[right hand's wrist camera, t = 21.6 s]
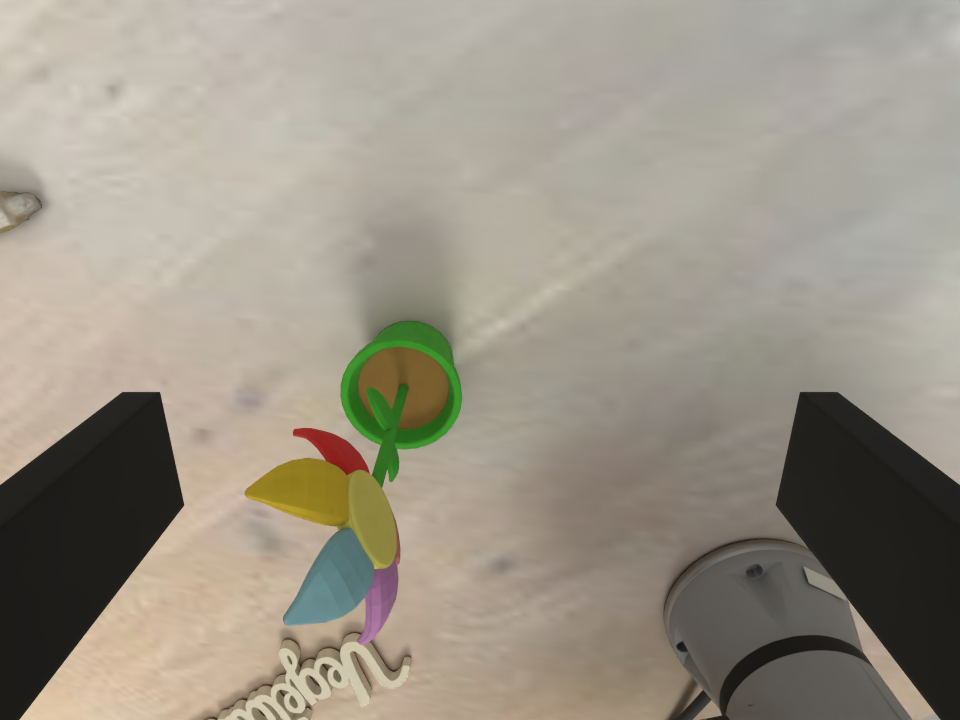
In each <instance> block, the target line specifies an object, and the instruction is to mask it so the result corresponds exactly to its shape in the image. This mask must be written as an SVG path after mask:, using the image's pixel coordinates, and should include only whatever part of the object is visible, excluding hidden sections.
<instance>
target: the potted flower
mask: <svg viewBox="0 0 960 720" xmlns="http://www.w3.org/2000/svg"><path fill="white" fill-rule="evenodd" d="M341 400H342V405H343V409H344V411H345V413H346V415H347V418H348V419H349V420H350V422H351V423H352V425H353V426H354V427H355V428H356V429H357V430H358V431H359V432H360V433H361V434H362V435H363V436H365V437H366V438H368V439H369V440H371V441H373V442H375V443H377V444H379V445H381V447H380V450H379V454H378V457H377V460H376V464H375V467H374V470H373V473H372V475H371V474H370V473H369V470H368V467H367V465H366V463H365V461H364V460H363V458H362V456H361V455H360V453H359V452H358V451H357V450H356V449H355V448H354V447H353V446H352V445H351V444H350V443H349V442H348V441H346V440H344V439H342V438H340V437H339V436H337V435H334V434H332V433H329V432H325V431H321V430H317V429H312V428H300V429H294V431H293V436H297V437H302V438H306V439H307V440H309V441H310V442H311V443H312V444H313V445H314V446H315V447H316V448H317V449H318V450H319V451H320V453H321V454H322V455H323V457H324V458H325V460H326V461H325V460H319V459H312V458H304V459H298V460H292V461H289V462H287V463H284V464H282V465H280V466H277V467H276V468H274V469H273V470H271V471H270V472H268V473H267V474H265V475H264V476H263V477H261V478H260V479H259V480H258V481H256V482H255V483H254V484H252V485H251V486H250V487H249V488H247V489H246V491H245V496H246V497H247V498H249V499H252V500H256V501H259V502H262V503H265V504H267V505H269V506H272V507H274V508H276V509H278V510H281V511H283V512H285V513H288V514H290V515H293V516H296V517H299V518H302V519H305V520H308V521H311V522H315V523H318V524H322V525H326V526H337V529H338V532H336V533H335V534H334V535H333V536H332V537H331V538H330V539H329V540H328V542H327V543H326V544H325V546H324V547H323V549H322V550H321V552H320V553H319V555H318V556H317V558H316V560H315V561H314V563H313V565H312V567H311V568H310V570H309V572H308V574H307V576H306V578H305V580H304V582H303V584H302V586H301V588H300V590H299V592H298V594H297V596H296V598H295V599H294V601H293V603H292V604H291V606H290V607H289V609H288V610H287V612H286V613H285V615H284V617H283V621H284V624H285V625H287V626H292V625H304V624H315V623H325V622H328V621H331V620H334V619H337V618H340V617H343V616H344V615H346V614H347V613H349V612H350V611H352V610H353V609H355V608H356V607H357V606H358V605H359V603H360V602H361V601H362V600H363V599H364V597H365V598H366V620H365V628H364V631H363V632H362V633H361V635H360V636H359V638H358V639H357V642H358V643H359V644H360V645H363V644H366V643H368V642H370V641H371V640H373V639H374V638H375V636H376V635H377V633H378V632H379V631H380V629H381V628H382V627H383V625H384V623H385V622H386V620H387V618H388V616H389V614H390V612H391V609H392V607H393V605H394V602H395V600H396V595H397V588H398V570H397V565H398V564H399V562H400V542H399V534H398V529H397V525H396V520H395V518H394V515H393V512H392V510H391V507H390V505H389V502H388V500H387V498H386V495H385V493H384V491H383V490H382V486H383V483H384V479H385V475H386V471H387V469H388V473H389V481H390V482H392V481H393V480H394V478H395V477H396V475H397V473H398V469H399V457H398V453H397V449H414V448H419V447H422V446H426V445H428V444H430V443H433V442H435V441H437V440H438V439H439V438H441V437H442V436H443V435H445V434H446V433H447V432H448V430H449V429H450V428H451V427H452V426H453V424H454V423H455V421H456V419H457V417H458V415H459V411H460V408H461V401H462V392H461V385H460V380H459V376H458V374H457V371H456V368H455V367H454V362H453V355H452V351H451V348H450V346H449V344H448V342H447V341H446V339H445V338H444V337H443V336H442V334H441V333H440V332H438V331H437V330H436V329H434V328H433V327H431V326H429V325H427V324H424V323H420V322H414V321H405V322H399V323H396V324H393V325H391V326H389V327H387V328H386V329H384V330H383V331H382V332H381V333H380V334H379V335H378V336H377V337H376V338H375V339H374V340H373V342H372V343H370V344H368V345H367V346H365V347H364V348H363V349H362V350H361V351H359V353H358V354H357V355H356V356H355V357H354V358H353V360H352V361H351V362H350V363H349V365H348V366H347V369H346V371H345V373H344V375H343V379H342V383H341Z"/></svg>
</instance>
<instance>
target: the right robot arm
mask: <svg viewBox="0 0 960 720" xmlns="http://www.w3.org/2000/svg"><path fill="white" fill-rule="evenodd" d="M183 506H184V502H183V497H182V492H181V488H180V483H179V479H178V474H177V469H176V465H175V460H174V455H173V451H172V446H171V441H170V437H169V432H168V427H167V423H166V418H165V413H164V409H163V404H162V399H161V395H160V392H122V393H121V394H120V395H118V396H117V397H116V398H114V399H113V400H112V401H110V402H109V403H108V404H106V405H105V406H104V407H102V408H101V409H100V410H98V411H97V412H96V413H95V414H93V415H92V416H91V417H89V418H88V419H87V420H85V421H84V422H83V423H81V424H80V425H79V426H77V427H76V428H75V429H73V430H72V431H71V432H70V433H68V434H67V435H66V436H64V437H63V438H62V439H60V440H59V441H58V442H56V443H55V444H54V445H52V446H51V447H50V448H48V449H47V450H46V451H45V452H43V453H42V454H41V455H39V456H38V457H37V458H35V459H34V460H33V461H31V462H30V463H29V464H27V465H26V466H25V467H23V468H22V469H21V470H20V471H18V472H17V473H16V474H14V475H13V476H12V477H10V478H9V479H8V480H6V481H5V482H4V483H2V484H1V485H0V720H19V719H20V718H21V717H22V716H23V714H24V713H25V712H26V710H27V709H28V708H29V706H30V705H31V704H32V703H33V701H34V700H35V699H36V697H37V696H38V695H39V693H40V692H41V691H42V690H43V688H44V687H45V686H46V684H47V683H48V682H49V680H50V679H51V678H52V677H53V675H54V674H55V673H56V671H57V670H58V669H59V667H60V666H61V665H62V664H63V662H64V661H65V660H66V658H67V657H68V656H69V654H70V653H71V652H72V651H73V649H74V648H75V647H76V645H77V644H78V643H79V641H80V640H81V639H82V638H83V636H84V635H85V634H86V632H87V631H88V630H89V628H90V627H91V626H92V625H93V623H94V622H95V621H96V619H97V618H98V617H99V615H100V614H101V613H102V612H103V610H104V609H105V608H106V606H107V605H108V604H109V602H110V601H111V600H112V599H113V597H114V596H115V595H116V593H117V592H118V591H119V589H120V588H121V587H122V586H123V584H124V583H125V582H126V580H127V579H128V578H129V576H130V575H131V574H132V573H133V571H134V570H135V569H136V567H137V566H138V565H139V563H140V562H141V561H142V560H143V558H144V557H145V556H146V554H147V553H148V552H149V550H150V549H151V548H152V547H153V545H154V544H155V543H156V541H157V540H158V539H159V537H160V536H161V535H162V533H163V532H164V531H165V530H166V528H167V527H168V526H169V524H170V523H171V522H172V520H173V519H174V518H175V517H176V515H177V514H178V513H179V511H180V510H181V509H182V507H183ZM776 506H777V507H778V509H779V510H780V511H781V513H782V514H783V515H784V517H785V518H786V519H787V520H788V522H789V523H790V524H791V526H792V527H793V528H794V530H795V531H796V532H797V533H798V535H799V536H800V537H801V539H802V540H803V541H804V543H805V544H806V545H807V547H808V548H809V549H810V550H811V551H810V550H808V549H806V548H804V547H802V546H799V545H796V544H794V543H790V542H786V541H780V540H770V539H759V540H749V541H743V542H738V543H734V544H731V545H728V546H725V547H722V548H720V549H717V550H715V551H713V552H711V553H709V554H707V555H706V556H704V557H702V558H701V559H699V560H698V561H696V562H695V563H694V564H692V565H691V566H690V567H689V568H688V569H687V570H686V571H685V572H684V573H683V574H682V575H681V576H680V577H679V579H678V580H677V581H676V583H675V584H674V586H673V587H672V589H671V591H670V593H669V595H668V598H667V601H666V605H665V610H664V624H665V629H666V632H667V635H668V638H669V641H670V643H671V646H672V648H673V650H674V652H675V654H676V655H677V657H678V659H679V661H680V662H681V664H682V665H683V666H684V667H685V669H686V670H687V671H688V672H689V673H690V675H691V676H692V677H693V678H694V679H695V680H696V682H697V683H698V684H699V685H700V686H701V688H702V689H703V691H702V692H701V693H700V694H699V695H698V696H697V697H696V698H695V700H694V701H693V702H692V703H691V704H690V705H689V706H688V707H687V708H686V709H685V710H684V711H683V712H682V714H681V715H680V716H679V717H678V718H677V719H676V720H693V719H694V718H695V717H696V715H697V714H698V713H699V712H700V711H701V710H702V709H703V708H704V707H705V706H706V705H707V704H708V703H709V702H710V701H711V700H712V701H713V702H714V703H715V704H716V705H717V707H718V708H719V709H720V711H721V714H722V716H718V717H713V718H708V719H701V720H912V719H911V717H910V716H909V715H908V713H907V712H906V711H905V709H904V708H903V706H902V705H901V704H900V702H899V701H898V700H897V698H896V697H895V696H894V694H893V693H892V691H891V690H890V689H889V687H888V686H887V685H886V683H885V682H884V680H883V679H882V678H881V676H880V675H879V674H878V672H877V671H876V670H875V668H874V667H873V666H872V664H871V663H870V661H869V660H868V659H867V657H866V656H865V654H864V653H863V651H862V647H861V644H860V640H859V637H858V633H857V630H856V626H855V623H854V620H853V617H852V614H851V610H850V607H849V603H848V600H849V601H850V602H851V604H852V605H853V606H854V608H855V609H856V610H857V612H858V613H859V614H860V615H861V617H862V618H863V619H864V621H865V622H866V623H867V625H868V626H869V627H870V628H871V630H872V631H873V632H874V634H875V635H876V636H877V638H878V639H879V640H880V641H881V643H882V644H883V645H884V647H885V648H886V649H887V651H888V652H889V653H890V654H891V656H892V657H893V658H894V660H895V661H896V662H897V664H898V665H899V666H900V667H901V669H902V670H903V671H904V673H905V674H906V675H907V677H908V678H909V679H910V680H911V682H912V683H913V684H914V686H915V687H916V688H917V690H918V691H919V692H920V693H921V695H922V696H923V697H924V699H925V700H926V701H927V703H928V704H929V705H930V706H931V708H932V709H933V710H934V712H935V713H936V714H937V716H938V717H939V718H940V719H941V720H960V485H959V484H958V483H956V482H955V481H954V480H952V479H951V478H950V477H948V476H947V475H946V474H944V473H943V472H942V471H940V470H939V469H938V468H937V467H935V466H934V465H933V464H931V463H930V462H929V461H927V460H926V459H925V458H923V457H922V456H921V455H919V454H918V453H917V452H915V451H914V450H913V449H912V448H910V447H909V446H908V445H906V444H905V443H904V442H902V441H901V440H900V439H898V438H897V437H896V436H894V435H893V434H892V433H890V432H889V431H888V430H887V429H885V428H884V427H883V426H881V425H880V424H879V423H877V422H876V421H875V420H873V419H872V418H871V417H869V416H868V415H867V414H865V413H864V412H863V411H862V410H860V409H859V408H858V407H856V406H855V405H854V404H852V403H851V402H850V401H848V400H847V399H846V398H844V397H843V396H842V395H840V394H839V393H838V392H800V395H799V399H798V404H797V409H796V413H795V418H794V423H793V427H792V432H791V437H790V441H789V446H788V451H787V455H786V460H785V465H784V469H783V474H782V479H781V483H780V488H779V492H778V497H777V502H776ZM847 599H848V600H847Z"/></svg>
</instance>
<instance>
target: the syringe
mask: <svg viewBox="0 0 960 720" xmlns="http://www.w3.org/2000/svg"><path fill="white" fill-rule="evenodd" d="M41 207H42V204H41V201H40V200H39V199H38V198H37V197H36V196H34V195H33V194H31V193H22V194H19V193H17V192H5V191H0V233H2V232H4V231H8V230H10V229H12V228H14V227H15V226H17V225H19V224H20V223H22V222H23V221H26V220H29V219H28V218H29V216H30V215H31V214H32V213H34V212H36V211H38V210H39V209H41Z"/></svg>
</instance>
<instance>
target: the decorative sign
mask: <svg viewBox="0 0 960 720" xmlns="http://www.w3.org/2000/svg"><path fill="white" fill-rule="evenodd" d="M360 635H361V634H357V633H352V634H349V635H347V636H346V637H345V638H344V640H343V642H342V646H341V650H340V652H338V651H337V650H334V649H331V648H327V649H323V650H321V651H320V652H319V653H318V655H317V658H316V661H315V660H312V659H308V660H306V661H305V662H304V663H303V664H302V667H300V665H299V664H298V661H299V658H300V649H299V647H298V645H297V644H296V643H295V642H293V641H291V640H284V641H283V643H282V645H281V648H280V651H279V658H280V660H281V662H282V664H283V666H284V668H285V670H286V671H287V673H286V674H284V675H280V676H278V677H277V678H276V679H275V681H274V683H273V686H272V687H270V686H262V687H260V688H259V689H258V690H257V691H253V692H251V693H250V695H249V697H248V700H247V701H246V700H239V701H237V702H236V704H235V705H234V706H233V707H230V709H226V710H222V711H221V712H220V714H219V717H218V719H217V720H279V718H280V717H281V718H282V719H283V720H311V716H312V711H311V710H310V709H309V708H305V707H306V703H307V701H308V702H309V703H310V704H311V705H313V704H315V703H317V702H318V699H326V698H328V697H329V696H330V695H331V691H332V687H336V688H345V687H347V685H348V683H349V680H350V682H351V685H352V687H353V689H354V692H355V694H356V696H357V698H358V700H359V704H360V707H365V706H367V705H368V704H369V702H370V697H371V692H372V691H371V687H370V685H369V683H368V681H367V679H366V677H365V675H364V673H363V672H362V670H361V668H360V665H359V663H358V661H357V659H356V656H355V653H354V651H355V652H357V653H359V654H360V655H361V656H362V658H363V659H364V660H365V662H366V663H367V665H368V666H369V668H370V670H371V671H372V673H373V674H374V676H375V677H376V679H377V680H378V681H379V683H380V684H381V685H383V686H384V687H386V688H389V689H394V688H397V687H399V686H400V685H401V684H402V683H403V682H404V681H405V680H406V678H407V676H408V674H409V671H410V665H411V658H410V657H404V659H403V662H402V665H401V667H400V669H399V670H398V671H396V672H392V671H390V670H389V669H388V668H387V667H386V666H385V664H384V662H383V661H382V659H381V657H380V656H379V654H378V653H377V651H376V650H375V648H374V647H373V645H372V644H371V642H368V643H366V644H363V645H360V644H359V643H358V642H357V639H358V638H359V636H360ZM323 663H326V664H329V665H330V666H329V669H328V671H327V670H326V669H325V668H324V666H322V664H323ZM310 676H312V677H313V678H314V679H315V680H316V681H317V682H318V683H319V685H320V686H318V685H316V684H315V683H314V682H313V681H312V679H311V677H310ZM279 690H285V691H286V694H285V697H284V696H283V695H282V694H281V693H280V691H279ZM257 708H258V709H259V710H261V711H262V712H263V713H264V714H265V716H266V717H264V716H263V715H262V714H261V713H260V711H259V710H258V709H257ZM207 720H215V719H207Z"/></svg>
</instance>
